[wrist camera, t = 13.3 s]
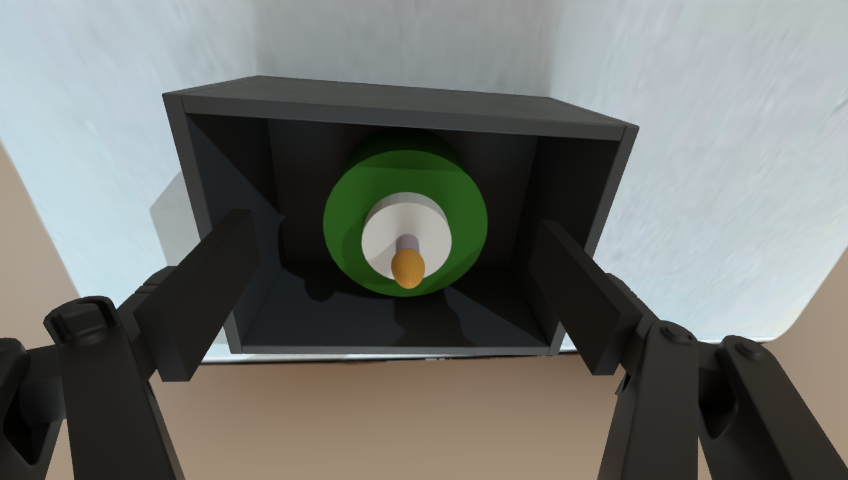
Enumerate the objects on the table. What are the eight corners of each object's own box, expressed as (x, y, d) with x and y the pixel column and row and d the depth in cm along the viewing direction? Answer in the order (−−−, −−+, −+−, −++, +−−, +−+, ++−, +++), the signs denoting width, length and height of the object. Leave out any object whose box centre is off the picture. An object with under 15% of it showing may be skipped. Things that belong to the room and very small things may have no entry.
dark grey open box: (282, 259, 25) (230, 354, 17) (256, 75, 20) (160, 93, 12) (511, 265, 27) (558, 355, 19) (550, 97, 21) (641, 126, 13)
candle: (419, 267, 25) (429, 382, 16) (315, 207, 22) (263, 307, 14) (494, 177, 22) (556, 261, 14) (386, 95, 20) (377, 134, 11)
